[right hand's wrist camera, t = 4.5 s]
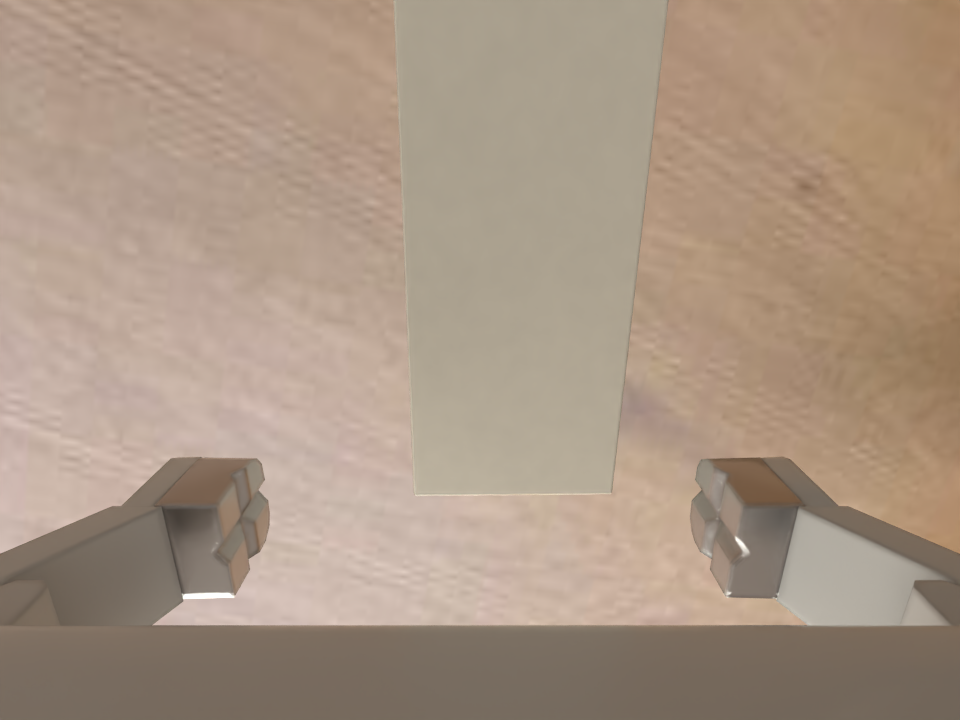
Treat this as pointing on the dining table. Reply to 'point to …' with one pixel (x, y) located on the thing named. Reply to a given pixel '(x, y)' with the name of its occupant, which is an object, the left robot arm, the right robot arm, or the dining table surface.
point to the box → (522, 234)
